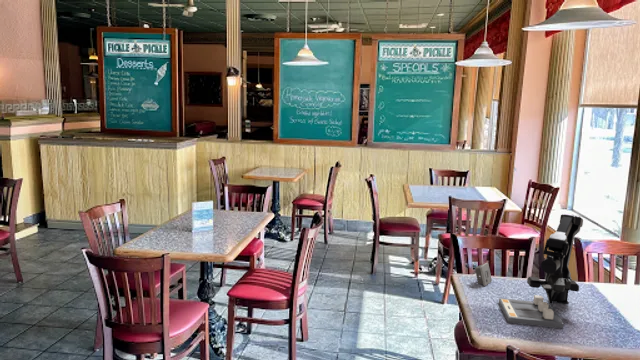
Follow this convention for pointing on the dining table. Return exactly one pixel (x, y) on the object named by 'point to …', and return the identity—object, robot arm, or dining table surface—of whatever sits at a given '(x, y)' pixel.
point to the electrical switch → (483, 274)
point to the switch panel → (527, 313)
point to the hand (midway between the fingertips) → (550, 303)
